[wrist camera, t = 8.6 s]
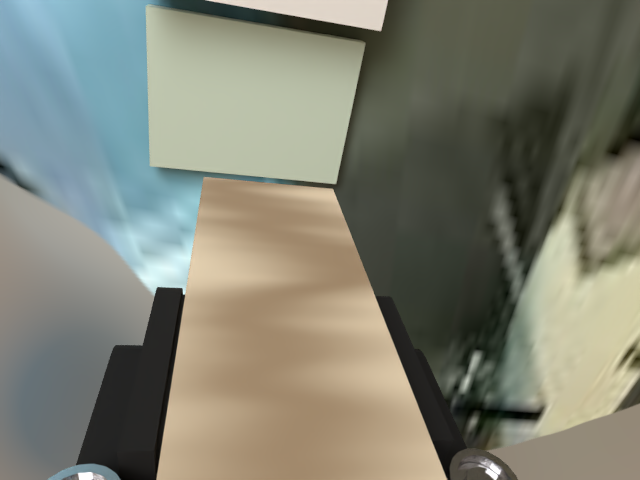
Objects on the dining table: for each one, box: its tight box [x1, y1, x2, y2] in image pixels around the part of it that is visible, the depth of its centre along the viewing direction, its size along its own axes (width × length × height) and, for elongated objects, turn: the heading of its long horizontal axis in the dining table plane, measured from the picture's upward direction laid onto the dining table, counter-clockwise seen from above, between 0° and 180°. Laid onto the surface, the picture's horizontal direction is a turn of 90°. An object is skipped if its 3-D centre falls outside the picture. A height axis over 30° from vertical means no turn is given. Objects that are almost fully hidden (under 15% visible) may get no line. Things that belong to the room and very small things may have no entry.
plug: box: [156, 177, 447, 480], centre depth 11 cm, size 4×4×10 cm
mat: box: [146, 4, 366, 184], centre depth 27 cm, size 12×9×1 cm
